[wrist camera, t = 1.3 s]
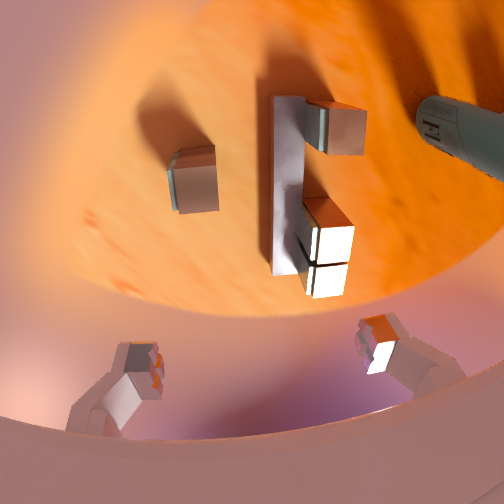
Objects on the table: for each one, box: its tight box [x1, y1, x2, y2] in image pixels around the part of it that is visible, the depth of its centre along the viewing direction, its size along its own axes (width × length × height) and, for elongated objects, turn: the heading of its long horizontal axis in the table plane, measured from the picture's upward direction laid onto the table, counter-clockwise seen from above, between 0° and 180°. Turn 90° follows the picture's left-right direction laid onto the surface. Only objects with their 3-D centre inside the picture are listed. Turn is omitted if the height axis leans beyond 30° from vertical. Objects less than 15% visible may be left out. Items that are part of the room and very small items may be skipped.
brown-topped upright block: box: [167, 146, 219, 214], centre depth 27 cm, size 4×4×7 cm
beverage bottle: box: [416, 94, 504, 183], centre depth 21 cm, size 6×7×20 cm
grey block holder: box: [269, 95, 367, 298], centre depth 30 cm, size 20×7×7 cm, turn 1°
